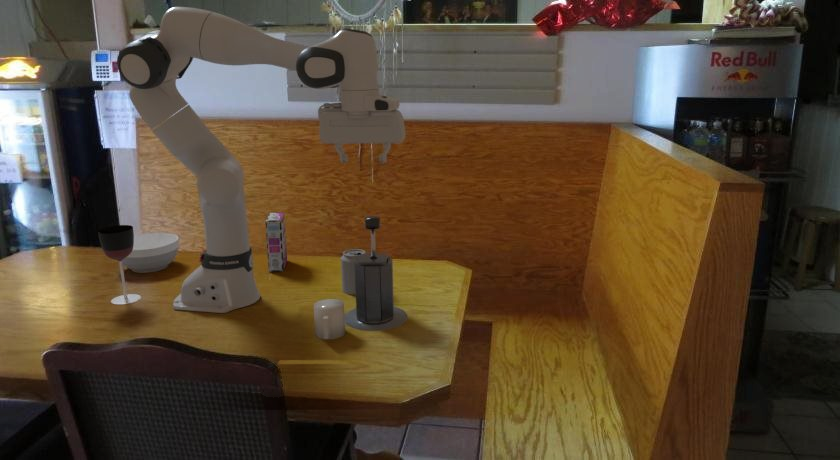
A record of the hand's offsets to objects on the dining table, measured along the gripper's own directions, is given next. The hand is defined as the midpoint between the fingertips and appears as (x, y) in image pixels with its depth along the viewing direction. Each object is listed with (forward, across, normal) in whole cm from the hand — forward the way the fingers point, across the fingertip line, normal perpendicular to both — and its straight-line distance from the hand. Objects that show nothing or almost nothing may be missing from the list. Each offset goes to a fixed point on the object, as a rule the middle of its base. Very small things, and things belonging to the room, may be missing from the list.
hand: (363, 162), depth 145 cm
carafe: (+39, +1, 0) cm, 39 cm away
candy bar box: (+39, -40, +33) cm, 65 cm away
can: (+40, -9, +16) cm, 44 cm away
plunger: (+26, +2, -2) cm, 26 cm away
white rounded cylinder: (+39, -7, -13) cm, 42 cm away
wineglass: (+38, -70, 0) cm, 80 cm away
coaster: (+40, +1, -2) cm, 40 cm away
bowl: (+39, -80, +26) cm, 93 cm away
